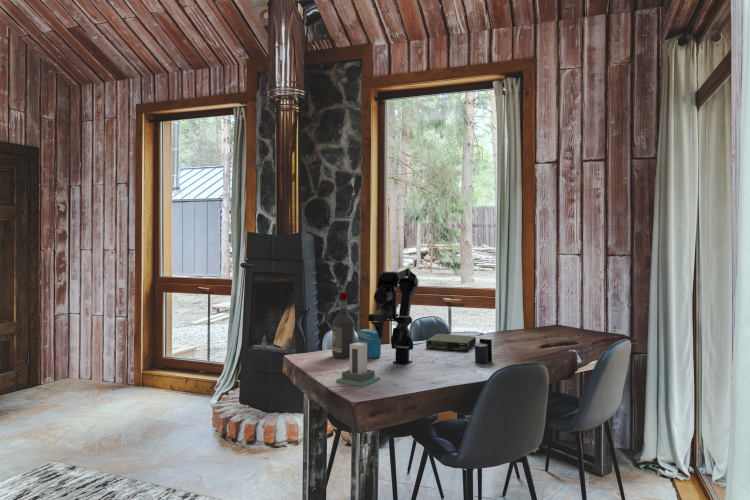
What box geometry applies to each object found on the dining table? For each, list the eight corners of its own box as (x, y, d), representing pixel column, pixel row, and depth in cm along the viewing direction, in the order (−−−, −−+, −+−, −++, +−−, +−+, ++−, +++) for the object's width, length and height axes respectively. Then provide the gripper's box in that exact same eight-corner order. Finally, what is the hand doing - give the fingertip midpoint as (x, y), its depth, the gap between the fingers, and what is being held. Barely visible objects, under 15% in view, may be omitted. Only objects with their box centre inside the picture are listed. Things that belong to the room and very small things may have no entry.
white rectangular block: (356, 375, 191) (356, 342, 191) (367, 377, 188) (367, 343, 188) (349, 378, 187) (349, 344, 187) (360, 380, 184) (360, 345, 184)
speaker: (481, 359, 223) (480, 337, 222) (492, 361, 219) (492, 339, 218) (472, 363, 217) (471, 340, 216) (483, 366, 213) (483, 343, 212)
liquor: (348, 353, 235) (348, 291, 235) (356, 357, 227) (356, 293, 227) (330, 355, 232) (330, 292, 232) (337, 359, 223) (337, 293, 223)
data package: (357, 354, 234) (357, 329, 234) (364, 353, 237) (364, 328, 237) (373, 359, 225) (373, 332, 225) (380, 357, 227) (380, 331, 227)
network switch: (424, 350, 245) (424, 340, 245) (433, 342, 268) (433, 332, 268) (471, 353, 238) (471, 343, 238) (476, 344, 261) (476, 335, 261)
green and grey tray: (354, 375, 196) (354, 366, 196) (379, 379, 189) (379, 370, 189) (336, 382, 186) (336, 372, 186) (362, 386, 179) (362, 377, 179)
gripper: (359, 302, 201) (359, 340, 201) (397, 305, 190) (397, 345, 190) (375, 299, 210) (375, 336, 210) (412, 302, 199) (412, 341, 199)
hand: (389, 339), depth 202 cm, fingers open, 9 cm apart
